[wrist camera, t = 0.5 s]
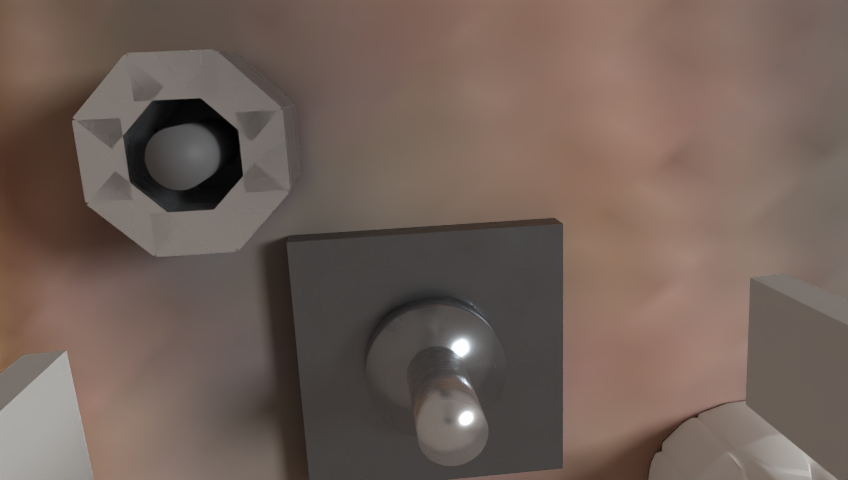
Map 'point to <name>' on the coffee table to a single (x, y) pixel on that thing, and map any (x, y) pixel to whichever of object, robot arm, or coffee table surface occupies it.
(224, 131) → the stand
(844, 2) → the coffee table surface
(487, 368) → the square peg base
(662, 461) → the decorative vase
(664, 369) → the coffee table surface
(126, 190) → the grey octagonal holder
